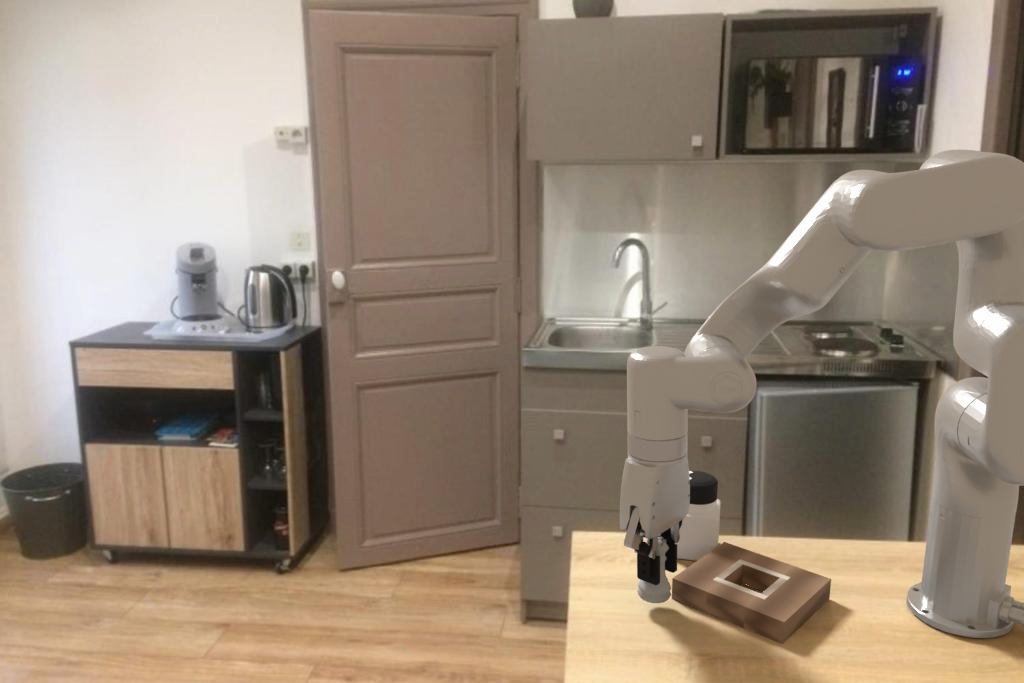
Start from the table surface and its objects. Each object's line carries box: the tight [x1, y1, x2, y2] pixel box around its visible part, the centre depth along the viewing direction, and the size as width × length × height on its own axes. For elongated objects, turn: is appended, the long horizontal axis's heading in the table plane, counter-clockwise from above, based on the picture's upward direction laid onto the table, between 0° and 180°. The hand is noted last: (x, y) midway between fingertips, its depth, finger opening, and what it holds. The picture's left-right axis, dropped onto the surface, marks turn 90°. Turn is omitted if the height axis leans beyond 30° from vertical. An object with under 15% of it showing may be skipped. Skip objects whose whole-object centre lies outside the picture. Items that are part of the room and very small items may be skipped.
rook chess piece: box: [637, 537, 672, 604], centre depth 116 cm, size 4×4×8 cm
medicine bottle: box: [675, 470, 722, 562], centre depth 131 cm, size 7×7×12 cm
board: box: [671, 541, 832, 645], centre depth 119 cm, size 16×14×3 cm
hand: (657, 573), depth 116 cm, fingers closed on rook chess piece, 3 cm apart
